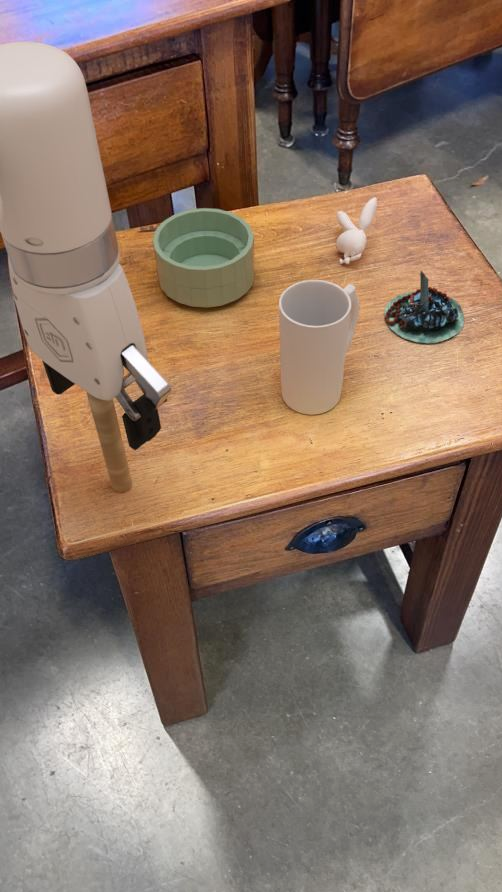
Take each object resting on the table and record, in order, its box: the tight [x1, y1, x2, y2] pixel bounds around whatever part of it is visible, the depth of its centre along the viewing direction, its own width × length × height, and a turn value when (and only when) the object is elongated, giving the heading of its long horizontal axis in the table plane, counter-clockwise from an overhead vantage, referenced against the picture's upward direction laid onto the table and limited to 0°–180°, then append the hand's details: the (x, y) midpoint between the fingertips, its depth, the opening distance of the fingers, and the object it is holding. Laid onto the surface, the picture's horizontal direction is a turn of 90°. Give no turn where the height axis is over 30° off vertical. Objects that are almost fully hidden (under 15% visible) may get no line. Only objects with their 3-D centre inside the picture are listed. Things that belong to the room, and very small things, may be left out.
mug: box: [278, 279, 360, 416], centre depth 83 cm, size 10×7×12 cm, turn 136°
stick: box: [85, 391, 133, 493], centre depth 74 cm, size 2×2×14 cm
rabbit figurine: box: [335, 196, 378, 266], centre depth 100 cm, size 6×4×8 cm
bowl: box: [152, 207, 256, 308], centre depth 95 cm, size 11×11×6 cm
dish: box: [383, 270, 465, 344], centre depth 94 cm, size 8×7×8 cm
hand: (106, 411), depth 71 cm, fingers open, 9 cm apart
